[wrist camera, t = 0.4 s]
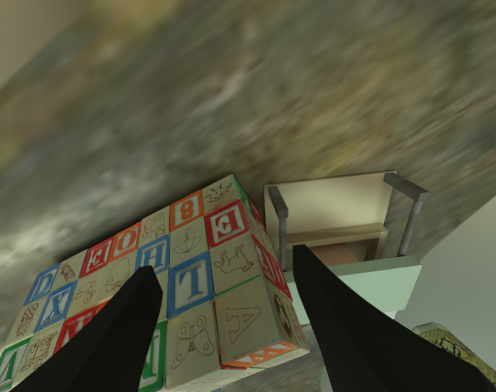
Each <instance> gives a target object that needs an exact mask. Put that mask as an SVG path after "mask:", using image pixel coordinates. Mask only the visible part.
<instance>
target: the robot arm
mask: <svg viewBox="0 0 496 392" xmlns="http://www.w3.org/2000/svg"><path fill="white" fill-rule="evenodd" d="M293 277H294V281H295V284H296V288H297V291H298V294H299V297H300V299H301V302H302V304H303V307H304V309H305V312H306V314H307V317H308V319H309V322H310V324H311V326H312V329H313V331H314V334H315V336H316V339H317V342H318V344H319V347H320V350H321V353H322V357H323V360H324V363H325V366H326V370H327V373H328V376H329V380H330V383H331V386H332V390H333V392H496V387H495V386H494V385H493V383H492V382H491V381H490V380H489V379H488V378H487V377H486V376H485V375H484V374H483V373H482V372H481V371H480V370H479V369H478V368H477V367H476V366H474V365H472V364H471V363H469V362H467V361H465V360H463V359H461V358H459V357H457V356H455V355H453V354H452V353H450V352H448V351H446V350H444V349H442V348H440V347H438V346H436V345H435V344H433V343H431V342H429V341H428V340H426V339H424V338H423V337H421V336H419V335H417V334H416V333H414V332H412V331H411V330H409V329H408V328H406V327H404V326H403V325H401V324H400V323H398V322H397V321H395V320H394V319H392V318H390V317H389V316H387V315H386V314H384V313H383V312H382V311H380V310H379V309H377V308H376V307H374V306H373V305H372V304H370V303H369V302H368V301H366V300H365V299H364V298H362V297H361V296H360V295H359V294H357V293H356V292H355V291H354V290H352V289H351V288H350V287H349V286H348V285H346V284H345V283H344V282H343V281H342V280H341V279H340V278H338V277H337V276H336V275H335V274H334V273H333V272H332V271H331V270H330V269H329V268H328V267H327V266H326V265H325V264H324V263H323V262H322V261H321V260H320V259H319V258H318V257H317V256H316V255H315V254H314V253H313V252H312V251H311V250H310V249H309V248H308V247H307V246H306V245H305V244H301V245H293ZM162 298H163V291H162V288H161V286H160V283H159V281H158V279H157V276H156V274H155V272H154V269H153V267H152V265H149V266H142V267H139V268H138V269H137V270H136V271H135V272H134V273H133V275H132V276H131V277H130V278H129V279H128V280H127V281H126V282H125V284H124V285H123V286H122V287H121V288H120V289H119V290H118V291H117V292H116V294H115V295H114V296H113V297H112V298H111V299H110V300H109V301H108V302H107V303H106V304H105V306H104V307H103V308H102V309H101V310H100V311H99V312H98V313H97V314H96V315H95V316H94V317H93V318H92V319H91V320H90V321H89V322H88V323H87V324H86V325H85V326H84V327H83V328H82V329H81V330H80V331H79V332H78V333H77V334H76V335H75V336H74V337H73V338H71V339H70V340H69V341H68V342H67V343H66V344H65V345H64V346H63V347H62V348H60V349H59V350H58V351H57V352H56V353H55V354H54V355H53V356H51V357H50V358H49V359H48V360H47V361H45V362H44V363H43V364H42V365H41V366H39V367H38V368H37V369H36V370H35V371H33V372H32V373H31V374H30V375H29V376H27V377H26V378H25V379H24V380H23V381H21V382H20V383H19V384H18V385H16V386H15V387H14V388H12V389H11V390H10V391H9V392H138V390H139V385H140V380H141V376H142V372H143V368H144V364H145V361H146V358H147V354H148V351H149V348H150V344H151V341H152V338H153V335H154V331H155V328H156V325H157V321H158V318H159V314H160V309H161V304H162ZM210 392H221V387H220V388H217V389H215V390H212V391H210Z"/></svg>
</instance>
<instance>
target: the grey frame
mask: <svg viewBox="0 0 496 392" xmlns="http://www.w3.org/2000/svg"><path fill="white" fill-rule="evenodd" d="M396 173H397V171H396V170H389V171H381V172H372V173H363V174H355V175H346V176H337V177H329V178H320V179H311V180H303V181H294V182H285V183H277V184H268V185H264V201H265V219H266V232H267V235H268V238H269V240H270V243H271V245H272V248H273V250H274V253H275V256H276V258H277V261H278V264H279V265H280V267H281V269H282V272H290V271H293V245H301V244H305V245H306V246H307V247H313V246H321V245H329V244H336V243H344V242H345V244H346V245H347V246H348V248H349V249H350V251H351V252H352V253H353V255H354V256H355V257H356V259H357V260H358V261H359V262H365V261H373V260H380V259H381V257H382V253H383V250H384V246H385V243H386V239H387V235H388V232H389V231H388V230H387V229H386V228H385V227H384V226H383V224H384V220H385V216H386V212H387V208H388V205H389V201H390V197H391V193H392V189H393V187H394V188H396V189H397V190H399V191H400V192H402V193H404V194H405V195H407V196H408V197H410V198H412V199H413V200H414V203H413V206H412V209H411V212H410V216H409V219H408V222H407V225H406V228H405V231H404V234H403V237H402V241H401V244H400V247H399V250H398V253H397V256H396V257H403V256H405V254H406V251H407V248H408V246H409V243H410V240H411V237H412V234H413V231H414V228H415V225H416V222H417V219H418V216H419V214H420V211H421V208H422V205H423V202H424V201H427V200H428V197H429V194H430V192H429V191H427V190H425V189H423V188H421V187H419V186H418V185H416V184H414V183H412V182H410V181H408V180H406V179H404V178H403V177H401V176H399V175H397V174H396Z"/></svg>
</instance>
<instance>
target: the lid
mask: <svg viewBox="0 0 496 392" xmlns="http://www.w3.org/2000/svg"><path fill="white" fill-rule="evenodd" d="M421 267H422V264H421V263H420V262H419V261H418V260H417V259H416V258H414V257H413V256H412V255H410V256H403V257H395V258H388V259H380V260H373V261H365V262H358V263H350V264H343V265H335V266H328V268H329V269H330V270H331V271H332V272H333V273H334V274H335V275H336V276H337V277H338V278H340V279H341V280H342V281H343V282H344V283H345V284H346V285H348V286H349V287H350V288H351V289H352V290H354V291H355V292H356V293H357V294H359V295H360V296H361V297H362V298H364V299H365V300H366V301H368V302H369V303H370V304H372V305H373V306H374V307H376V308H377V309H379V310H380V311H382V312H383V313H385V312H392V311H398V310H404V309H405V307H406V304H407V302H408V299H409V297H410V294H411V292H412V290H413V287H414V285H415V282H416V279H417V277H418V275H419V272H420V270H421ZM283 274H284V277H285V280H286V283H287V285H288V288H289V290H290V293H291V296H292V299H293V303H292V305H293V307H294V310H295V312H296V315H297V318H298V320H299V323H300V325H301V324H308V323H310V322H309V319H308V317H307V314H306V312H305V309H304V307H303V304H302V302H301V299H300V297H299V294H298V291H297V288H296V284H295V281H294V277H293V271H290V272H283Z"/></svg>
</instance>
